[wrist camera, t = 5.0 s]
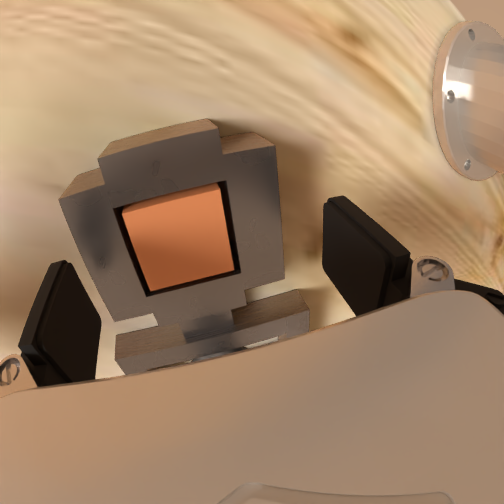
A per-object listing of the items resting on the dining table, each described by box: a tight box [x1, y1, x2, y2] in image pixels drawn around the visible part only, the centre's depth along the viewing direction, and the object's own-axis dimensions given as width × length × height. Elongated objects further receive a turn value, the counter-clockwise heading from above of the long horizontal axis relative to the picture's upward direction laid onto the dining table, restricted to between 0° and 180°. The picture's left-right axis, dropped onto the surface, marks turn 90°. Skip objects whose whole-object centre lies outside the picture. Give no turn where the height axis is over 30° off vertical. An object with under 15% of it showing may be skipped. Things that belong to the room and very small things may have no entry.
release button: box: [122, 182, 234, 291], centre depth 13 cm, size 4×4×3 cm
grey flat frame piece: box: [58, 119, 310, 375], centre depth 17 cm, size 12×23×3 cm, turn 6°
